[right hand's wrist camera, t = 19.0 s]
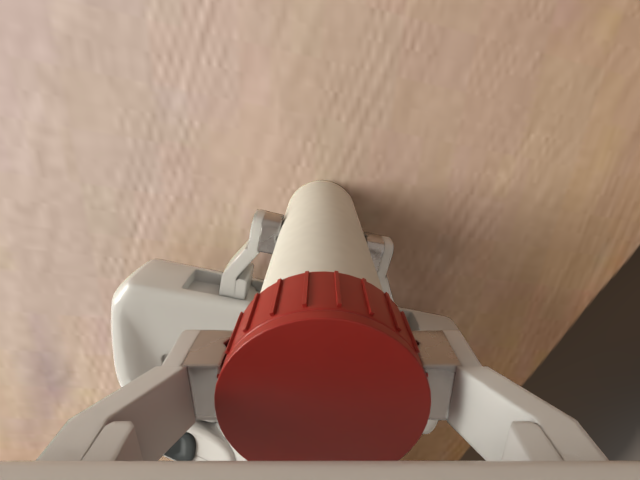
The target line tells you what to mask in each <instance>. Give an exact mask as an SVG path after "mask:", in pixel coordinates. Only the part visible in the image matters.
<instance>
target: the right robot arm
mask: <svg viewBox="0 0 640 480" xmlns="http://www.w3.org/2000/svg"><path fill="white" fill-rule="evenodd" d="M232 333H233V330H184V331H183V332H182V333H181V334H180V336H179V338H178V339H177V341H176V343H175V344H174V346H173V347H172V349H171V351H170V352H169V354H168V356H167V357H166V359H165V361H164V362H163V364H162V365H161V366H156V367H154V368H152V369H151V370H149V371H147V372H146V373H144V374H142V375H141V376H139V377H138V378H136V379H134V380H133V381H131V382H129V383H128V384H126V385H124V386H123V387H121V388H119V389H118V390H116V391H115V392H113V393H111V394H110V395H108V396H106V397H105V398H103V399H101V400H100V401H98V402H96V403H95V404H93V405H92V406H90V407H88V408H87V409H85V410H83V411H82V412H80V413H78V414H77V415H75V416H74V417H72V418H70V419H69V420H68V421H67V422H66V423H65V425H64V426H63V427H62V428H61V430H60V431H59V432H58V433H57V435H56V436H55V437H54V438H53V439H52V441H51V442H50V443H49V444H48V446H47V447H46V448H45V449H44V451H43V452H42V453H41V454H40V456H39V457H38V458H37V459H36V461H0V480H640V461H609V460H608V459H607V457H606V456H605V455H604V454H603V452H602V451H601V450H600V449H599V448H598V446H597V445H596V444H595V443H594V441H593V440H592V439H591V438H590V436H589V435H588V434H587V433H586V431H585V430H584V429H583V428H582V426H581V425H580V424H579V423H578V422H577V420H575V419H574V418H572V417H570V416H569V415H567V414H565V413H564V412H562V411H560V410H559V409H557V408H555V407H554V406H552V405H550V404H549V403H547V402H546V401H544V400H542V399H541V398H539V397H537V396H536V395H534V394H532V393H531V392H529V391H527V390H526V389H524V388H522V387H521V386H519V385H518V384H516V383H514V382H513V381H511V380H509V379H508V378H506V377H504V376H503V375H501V374H499V373H498V372H496V371H494V370H493V369H491V368H489V367H488V366H482V365H481V363H480V362H479V360H478V359H477V357H476V355H475V354H474V352H473V351H472V349H471V348H470V346H469V344H468V343H467V341H466V340H465V338H464V336H463V335H462V333H461V332H460V331H459V330H457V329H455V330H434V331H412V333H413V335H414V338H415V340H416V343H417V345H418V348H419V350H420V353H418V355H419V358H420V360H421V363H422V365H423V368H424V371H425V373H428V376H429V377H427V378H428V382H429V386H430V390H431V410H430V415H429V419H428V420H447V422H448V423H449V424H450V425H451V426H452V427H453V428H454V429H455V430H456V431H457V432H458V433H459V434H460V435H461V436H462V437H463V438H464V439H465V440H466V441H467V442H468V443H469V444H470V445H471V446H472V447H473V448H474V449H475V450H476V451H477V452H478V453H479V454H480V455H481V456H482V457H483V458H484V459H485V460H486V461H158V460H159V459H160V458H161V457H162V456H163V455H164V454H165V453H166V452H167V451H168V450H169V449H170V448H171V447H172V446H173V445H174V444H175V443H176V442H177V441H178V440H179V439H180V438H181V437H182V436H183V435H184V434H185V433H186V432H187V431H188V430H189V429H190V428H191V427H192V426H193V425H194V424H195V423H196V420H217V418H216V413H215V408H214V394H215V387H216V383H217V380H218V378H217V374H220V371H221V369H222V366H223V364H224V361H225V358H226V355H227V354H225V351H226V348H227V345H228V343H229V340H230V338H231V335H232Z"/></svg>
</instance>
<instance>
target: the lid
mask: <svg viewBox="0 0 640 480" xmlns="http://www.w3.org/2000/svg"><path fill="white" fill-rule="evenodd" d="M418 353H420V350H419V348H418V345H417V343H416V340H415V338H414V335H413V333H412V330H411V328H410V325H409V323H408V321H407V318H406V316H405V313H404V311H401V312H400V310H399V309H398V307H397V306H396V304H395V303H394V302H393V301H392V300H391V298H390V296H389V294H388V293H387V292H385V293H384V292H383V291H382V290H380V289H378V288H377V287H375V286H374V285H372V284H371V283H369V282H367V281H366V279H365V278H362V279H360V278H357V277H354V276H351V275H348V274H343V273H339V272H338V271H334V272H327V271H320V272H319V271H318V272H309V271H305V273H301V274H297V275H294V276H290V277H287V278H285V279H283V280H282V279H281V278H280V279H278V280H277V282H276V283H274V284H273V285H271V286H269V287H267V288H266V289H265V290H263V291H262V292H261V293H260V294H259V293H256V294H255V296H254V299H253V300H252V301H251V303H250V304H249V305H248V307H247V308H246V309H245V311H244V313H243V312H241V313H240V314H239V317H238V320H237V322H236V325H235V327H234V330H233V333H232V335H231V338H230V340H229V343H228V345H227V348H226V351H225V354H227V355H226V358H225V361H224V364H223V366H222V369H221V371H220V374H217V378H218V380H217V383H216V387H215V394H214V408H215V413H216V418H217V421H218V424H219V426H220V429H221V431H222V433H223V434H224V436H225V438H226V439H227V441H228V442H229V443H230V445H231V446H232V447H233V448H234V449H235V450H236V451H237V452H238V453H239V454H240V455H241V456H242V457H243V458H245V459H246V460H247V461H398V460H400V459H401V458H402V457H403V456H404V455H405V454H407V453H408V452H409V451H410V450H411V448H412V447H413V446H414V445H415V444H416V443H417V441H418V440H419V438H420V437H421V435H422V434H423V432H424V429H425V427H426V425H427V422H428V419H429V415H430V410H431V390H430V386H429V382H428V378H427V377H429V376H428V373H425V371H424V368H423V365H422V363H421V360H420V358H419V355H418Z"/></svg>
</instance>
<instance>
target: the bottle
mask: <svg viewBox="0 0 640 480" xmlns="http://www.w3.org/2000/svg"><path fill="white" fill-rule="evenodd" d="M305 271H309V272H318V271H319V272H320V271H327V272H334V271H338V272H339V273H343V274H348V275H351V276H354V277H357V278H360V279H362V278H365V279H366V281H367V282H369V283H371V284H372V285H374V286H375V287H377V288H378V289H380V290H382V287H381V284H380V281H379V278H378V275H377V272H376V269H375V266H374V263H373V260H372V257H371V254H370V251H369V248H368V245H367V242H366V239H365V236H364V233H363V230H362V227H361V224H360V221H359V218H358V215H357V212H356V209H355V206H354V203H353V201H352V199H351V197H350V195H349V194H348V193H347V191H346V190H345V189H343V188H342V187H341V186H339V185H337V184H335V183H333V182H330V181H321V180H320V181H313V182H310V183H307V184H305V185H303V186H302V187H300V188H299V189H298V190H297V191H296V192H295V193H294V194H293V196H292V197H291V199H290V201H289V204H288V208H287V211H286V214H285V217H284V220H283V223H282V226H281V230H280V233H279V236H278V239H277V242H276V245H275V248H274V251H273V254H272V258H271V261H270V264H269V267H268V270H267V273H266V276H265V279H264V283H263V286H262V289H261V292H262V291H263V290H265V289H266V288H267V287H269V286H271V285H273V284H274V283H276V282H277V280H278V279H280V278H281V279H282V280H283V279H285V278H287V277H290V276H294V275H297V274H301V273H305ZM382 291H383V290H382ZM261 292H260V293H261Z"/></svg>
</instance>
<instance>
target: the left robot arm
mask: <svg viewBox="0 0 640 480" xmlns="http://www.w3.org/2000/svg"><path fill="white" fill-rule="evenodd" d="M283 219H284V215H282V214H278V213H273V212H269V211H266V210H260V209H257V211H256V213H255V214H254V217H253V221H252V225H251V231H250V237H249V240H248V241H247V242H246V243H245V244H244V245H243V246H242V247H241V249H240V250H239V251H238V252H237V253H236V254H235V255H234V256H233V257H232V258H231V260H230V262H229V263H228V265H227V267H226V268H225V270H224V272H221V271H216V270H211V269H206V268H201V267H196V266H191V265H186V264H181V263H176V262H171V261H167V260H162V259H152V260H150V261H148V262H147V263H145V264H144V265H142V266H141V267H139V268H138V269H137V270H136V271H134V272H133V273H132V274H131V275H130V276H129V277H127V278H126V279H125V280H124V281H123V282H122V283H121V285H120V286H119V287H118V289H117V290H116V292H115V293H114V296H113V299H112V305H111V333H112V347H113V357H114V364H115V370H116V375H117V378H118V381H119V384H120V386H121V387H123V386H124V385H126V384H128V383H129V382H131V381H133V380H134V379H136V378H138V377H139V376H141V375H142V374H144V373H146V372H147V371H149V370H151V369H152V368H154V367H156V366H161V365H162V364H163V362H164V361H165V359H166V357H167V356H168V354H169V352H170V351H171V349H172V347H173V346H174V344H175V343H176V341H177V339H178V338H179V336H180V334H181V333H182V332H183V331H184V330H234V327H235V325H236V322H237V320H238V317H239V314H240V313H241V312H243V313H244V311H245V309H246V308H247V307H248V305H249V304H250V303H251V301H252V300H253V299H254V296H255V294H256V293H259V294H260V292H261V289H262V286H263V283H264V280H261V279H256V278H252V275H253V269H254V265H253V264H252V263H250V262H251V261H252V260H253V259H254V258H255V257H256V256H257V255H258V254H259V252H265V253H270V254H273V251H274V248H275V245H276V242H277V239H278V236H279V233H280V230H281V226H282V223H283ZM364 236H365V239H366V242H367V245H368V248H369V251H370V254H371V257H372V260H373V263H374V266H375V269H376V272H377V275H378V278H379V281H380V284H381V287H382V290H383V292H384V293H385V292H387V293H388V294H389V296H390V298H391V300H392V301H393V297H392V293H391V290H390V286H389V282H388V278H387V276H386V274H387V270H388V267H389V264H390V261H391V258H392V255H393V250H394V244H393V242H392V240H391V238H390V237H386V236H381V235H377V234H372V233H367V232H364ZM393 302H394V301H393ZM398 309H399V310H400V312H401V311H404V313H405V316H406V318H407V321H408V323H409V325H410V328H411V330H412V331H434V330H455V329H457V330H459V329H458V328H457V326H456V325H455V323H454V322H453V321H452V320H451V319H450V318H448V317H446V316H442V315H437V314H432V313H427V312H422V311H416V310H411V309H406V308H401V307H398ZM438 421H439V420H428V422H427V425H426V427H425V429H424V432H423V434H429V433H430V432H432V431H433V430H434V428H435V427H436V425H437V422H438ZM163 456H165V457H167V458H169V459H171V460H174V461H247V460H246V459H245V458H243V457H242V456H241V455H240V454H239V453H238V452H237V451H236V450H235V449H234V448H233V447H232V446H231V445H230V443H229V442H228V441H227V439H226V438H225V436H224V434H223V433H222V431H221V429H220V426H219V424H218V421H217V420H196V423H195V424H194V425H193V426H192V427H191V428H190V429H189V430H188V431H187V432H186V433H185V434H184V435H183V436H182V437H181V438H180V439H179V440H178V441H177V442H176V443H175V444H174V445H173V446H172V447H171V448H170V449H169V450H168V451H167V452H166V453H165V454H164V455H163Z"/></svg>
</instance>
